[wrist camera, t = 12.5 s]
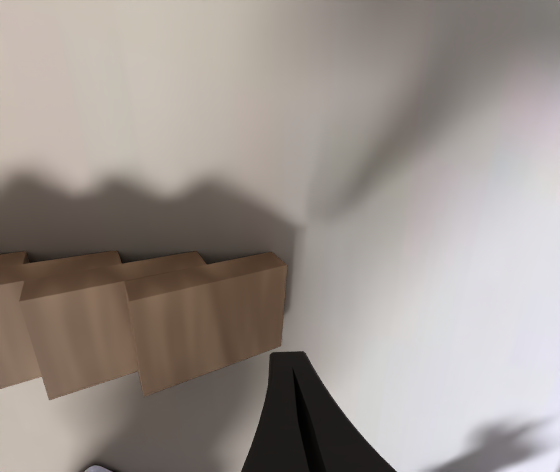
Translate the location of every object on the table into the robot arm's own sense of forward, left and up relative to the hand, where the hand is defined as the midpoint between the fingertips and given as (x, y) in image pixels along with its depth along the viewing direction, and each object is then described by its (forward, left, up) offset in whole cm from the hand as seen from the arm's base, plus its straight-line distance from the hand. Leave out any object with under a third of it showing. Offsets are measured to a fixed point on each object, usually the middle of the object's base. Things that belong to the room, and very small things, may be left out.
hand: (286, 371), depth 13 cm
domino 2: (+3, +3, -5) cm, 6 cm away
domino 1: (0, 0, -5) cm, 5 cm away
